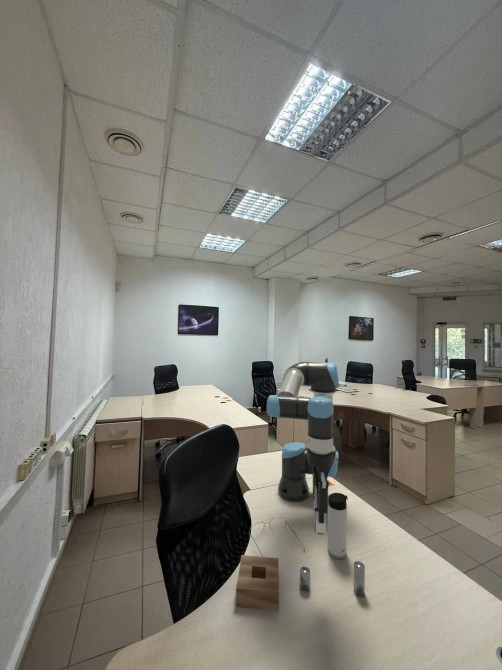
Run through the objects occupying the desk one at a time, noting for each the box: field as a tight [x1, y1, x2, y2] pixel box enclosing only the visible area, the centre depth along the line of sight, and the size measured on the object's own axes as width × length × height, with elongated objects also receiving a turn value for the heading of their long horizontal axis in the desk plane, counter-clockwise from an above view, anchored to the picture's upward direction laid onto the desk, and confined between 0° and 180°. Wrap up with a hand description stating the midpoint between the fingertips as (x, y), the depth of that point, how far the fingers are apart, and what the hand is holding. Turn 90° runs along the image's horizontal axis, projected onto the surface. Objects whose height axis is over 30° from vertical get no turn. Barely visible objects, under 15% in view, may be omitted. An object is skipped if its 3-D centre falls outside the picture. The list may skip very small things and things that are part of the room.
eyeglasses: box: [248, 516, 306, 557], centre depth 101 cm, size 16×15×5 cm
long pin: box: [313, 486, 325, 536], centre depth 83 cm, size 3×3×13 cm
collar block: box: [235, 554, 280, 611], centre depth 83 cm, size 12×12×5 cm
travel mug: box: [327, 492, 349, 560], centre depth 98 cm, size 6×7×20 cm
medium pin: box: [353, 560, 366, 598], centre depth 82 cm, size 3×3×8 cm
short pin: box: [299, 566, 311, 593], centre depth 84 cm, size 3×3×5 cm
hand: (319, 527), depth 83 cm, fingers closed on long pin, 3 cm apart
